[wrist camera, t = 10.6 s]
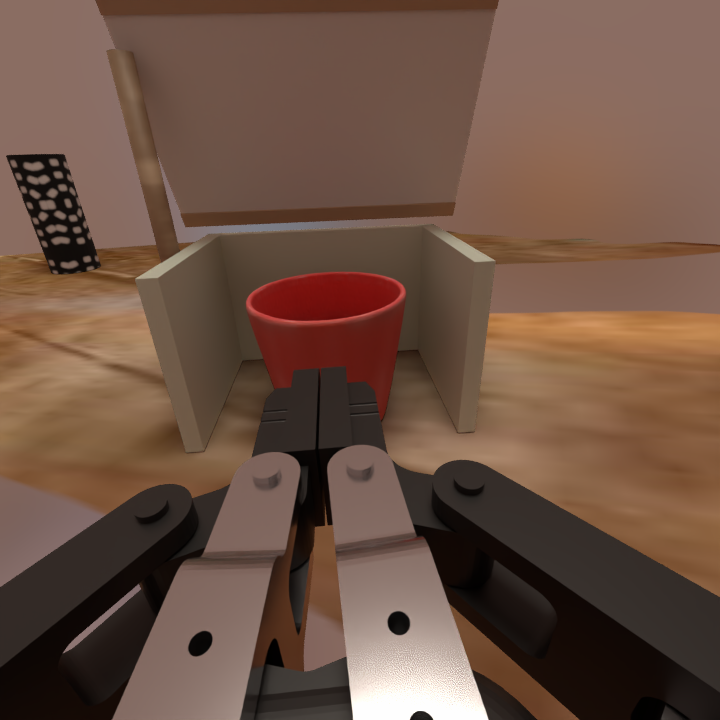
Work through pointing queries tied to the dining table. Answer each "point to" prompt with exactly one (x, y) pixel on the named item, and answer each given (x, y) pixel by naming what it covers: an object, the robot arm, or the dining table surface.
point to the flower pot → (330, 326)
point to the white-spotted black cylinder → (55, 211)
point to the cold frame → (306, 256)
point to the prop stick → (143, 150)
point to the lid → (307, 103)
